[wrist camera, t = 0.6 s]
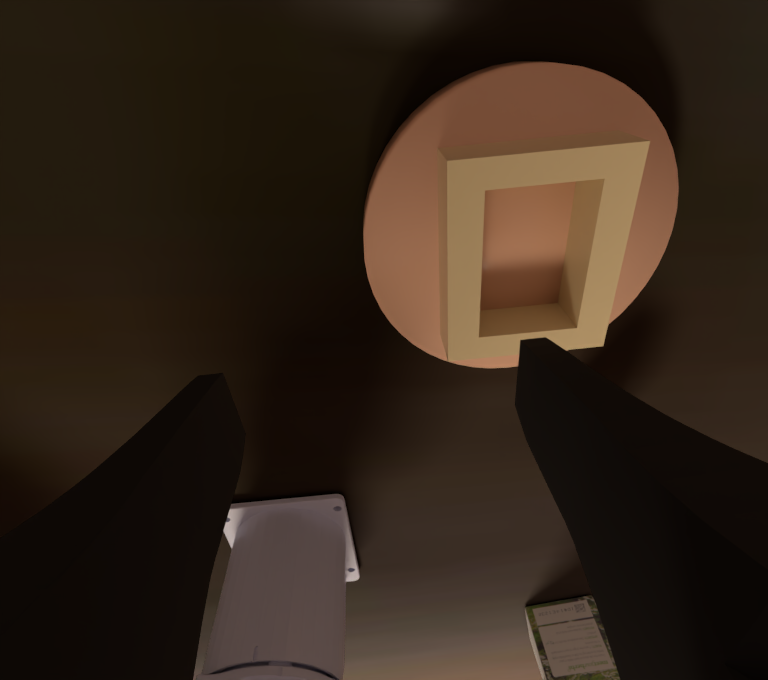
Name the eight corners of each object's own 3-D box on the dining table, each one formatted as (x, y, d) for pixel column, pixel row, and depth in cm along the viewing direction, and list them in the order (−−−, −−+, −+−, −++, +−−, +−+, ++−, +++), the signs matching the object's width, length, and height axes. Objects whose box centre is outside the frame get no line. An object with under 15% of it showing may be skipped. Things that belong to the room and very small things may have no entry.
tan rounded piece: (615, 331, 22) (661, 382, 19) (376, 355, 22) (380, 409, 19) (685, 44, 16) (774, 45, 12) (345, 78, 16) (342, 88, 12)
